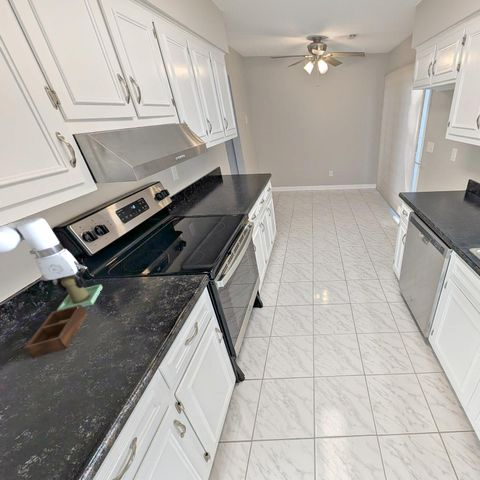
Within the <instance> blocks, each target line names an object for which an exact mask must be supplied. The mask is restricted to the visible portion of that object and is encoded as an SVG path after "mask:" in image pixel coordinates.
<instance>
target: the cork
mask: <svg viewBox="0 0 480 480" xmlns="http://www.w3.org/2000/svg"><path fill="white" fill-rule="evenodd" d="M61 284H62V286H64V287H66V289H67V290H66V291H67V293H68V294H69V296H70V298H71V300H72V303H74V304H76V303H81V302H83V301H85V300H87V299H88V298H89V297H90V294H89V293H88V292H87V291H86V290H85V288H86V287H84V286H83V287H82V288H80V287H79V285H78V284H77V282H76V278H75V277H73V276H72V275H71V276H67V277H63V278H61Z"/></svg>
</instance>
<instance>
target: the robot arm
mask: <svg viewBox="0 0 480 480" xmlns="http://www.w3.org/2000/svg"><path fill="white" fill-rule="evenodd" d="M9 223H10V224H8V225H5V226H2V227H0V254H6V253H9V252H11V251H13V250H14V249H16V247H17V246H18V245H19V243H22V241H25V242H26V243H27V245H28V246H29V248H30V249H31V250H29V254H30V255H35V257H34V260H35V263H36V266H37V268H38V270H39V272H40V273H41V276H40V278H39V279H40V280H41V281H45V282H48V283H52V284H54V285H56V286H57V288H58V289H59V290H60V291H61V292H62V293H65V292H66V291H67V289H66V287H64V286H62V284H61V280H62V279H63V278H65V277H68V276H73V277H75V278H76V282H77V284H78V285H79V287H80V288H82V287H84V286H85V285H86V281H85V279H84V278H83V275H84V273H85V272H86V271H87V270H88V267H87V266H85V265H83V264H80V263H79V262H78V260H77V259H76V258H75V257H74V255H73V254H72V253H71V252H70V251H69V250H68V249H67V248H64V247H63V245H62V243H61V242H60V240H59V239H58V237H57V236H56V234H55V232H53V229H52V228H51V226H50V225H49V224H48V222H47V220H46V219H44V218H42V217H34V218H29V219H25V220H22V221H13V223H12V222H9ZM79 270H80V271H79Z"/></svg>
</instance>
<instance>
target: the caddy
mask: <svg viewBox="0 0 480 480" xmlns="http://www.w3.org/2000/svg"><path fill="white" fill-rule="evenodd" d="M84 308H85V307H82V305H77V306H73V307H69V308H65V309H62V310H55V311H54V310H53V311H51V312H50V313H49V315H48V316H47V317H46V319H45V320H44V322H43V323H42V324H40V326H39V328H38V329H37V331H36V332H35V333H34V335H32V337H31V338H30V340H29V341H28V342H27V343H26V345H25V346H24V350H25V351H26V352H27V353H28V354H29V355H30V356H31V357H32V358H33V359H35V358H39V357H42V356H46V355H48V354H51V353H52V354H53V353H56V352H59V351H62V350H65V349H66V350H67V349H68V348H69V346H70V345H71V343H72V341H73V339H74V338H75V336H76V334H77V333H78V331H79V329H80V328H81V326H82V324H83V322H84V320H85V319H86V317H87V316H88V312H87V311H86V309H84Z"/></svg>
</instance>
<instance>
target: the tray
mask: <svg viewBox="0 0 480 480" xmlns="http://www.w3.org/2000/svg"><path fill="white" fill-rule="evenodd" d="M84 288H85V290H86V291H87V292H88V293H89V294H90V297H89V298H88V299H87V300H85V301H83V302H81V303H76V304H74V303H72V300H71V298H70V296H69V294H68V295H67V296H66V297H65V298H64V299H63V301H62V302H61V303H60V304H59V306H58V307H57V309H56V311H58V310H62V309H65V308H69V307H73V306H77V305H82V307H83V308H85V307H88V306H92V305H93V306H94V303H96V300H97V298H98V297H99V295H100V293H101V292H102V290H103V285H102V284H101V283H100V284H96V285H91V286H88V287H84ZM100 291H101V292H100Z"/></svg>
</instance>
